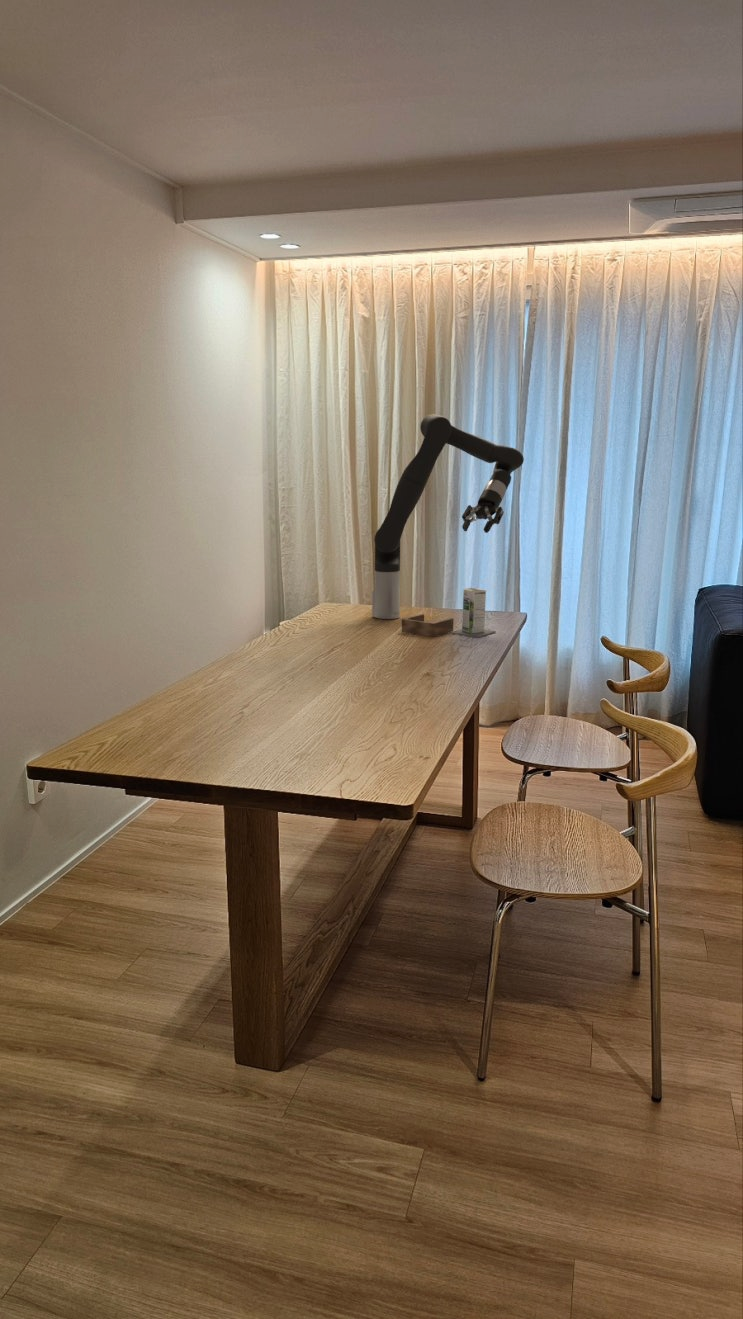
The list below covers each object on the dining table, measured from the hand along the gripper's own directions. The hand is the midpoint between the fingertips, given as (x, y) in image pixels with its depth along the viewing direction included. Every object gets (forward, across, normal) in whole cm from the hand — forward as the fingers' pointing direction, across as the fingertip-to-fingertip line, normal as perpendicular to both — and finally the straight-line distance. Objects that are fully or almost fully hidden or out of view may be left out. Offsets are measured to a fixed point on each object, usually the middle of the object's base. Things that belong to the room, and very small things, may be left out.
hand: (474, 530), depth 323 cm
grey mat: (+34, +10, +12) cm, 38 cm away
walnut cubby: (+40, -4, +7) cm, 40 cm away
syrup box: (+34, +10, +12) cm, 37 cm away
